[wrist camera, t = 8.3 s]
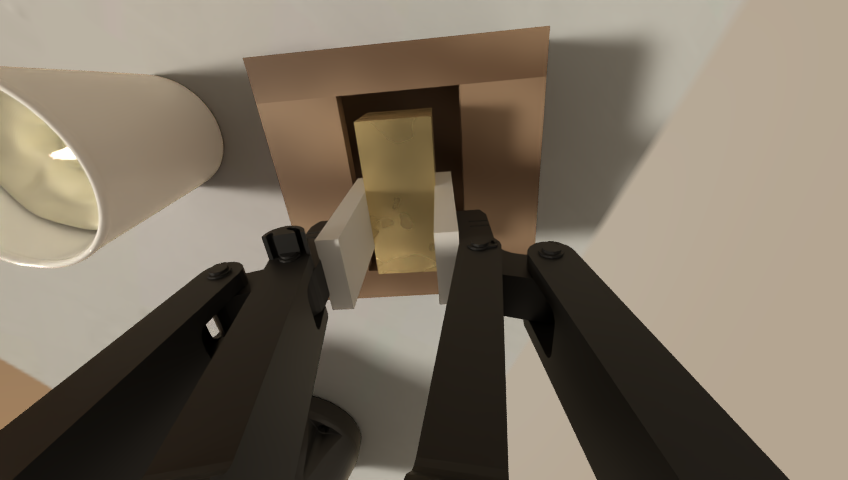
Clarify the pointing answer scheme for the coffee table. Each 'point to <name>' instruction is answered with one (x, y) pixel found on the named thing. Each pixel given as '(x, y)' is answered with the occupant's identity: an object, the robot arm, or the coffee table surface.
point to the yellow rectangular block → (399, 187)
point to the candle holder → (94, 158)
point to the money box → (412, 89)
